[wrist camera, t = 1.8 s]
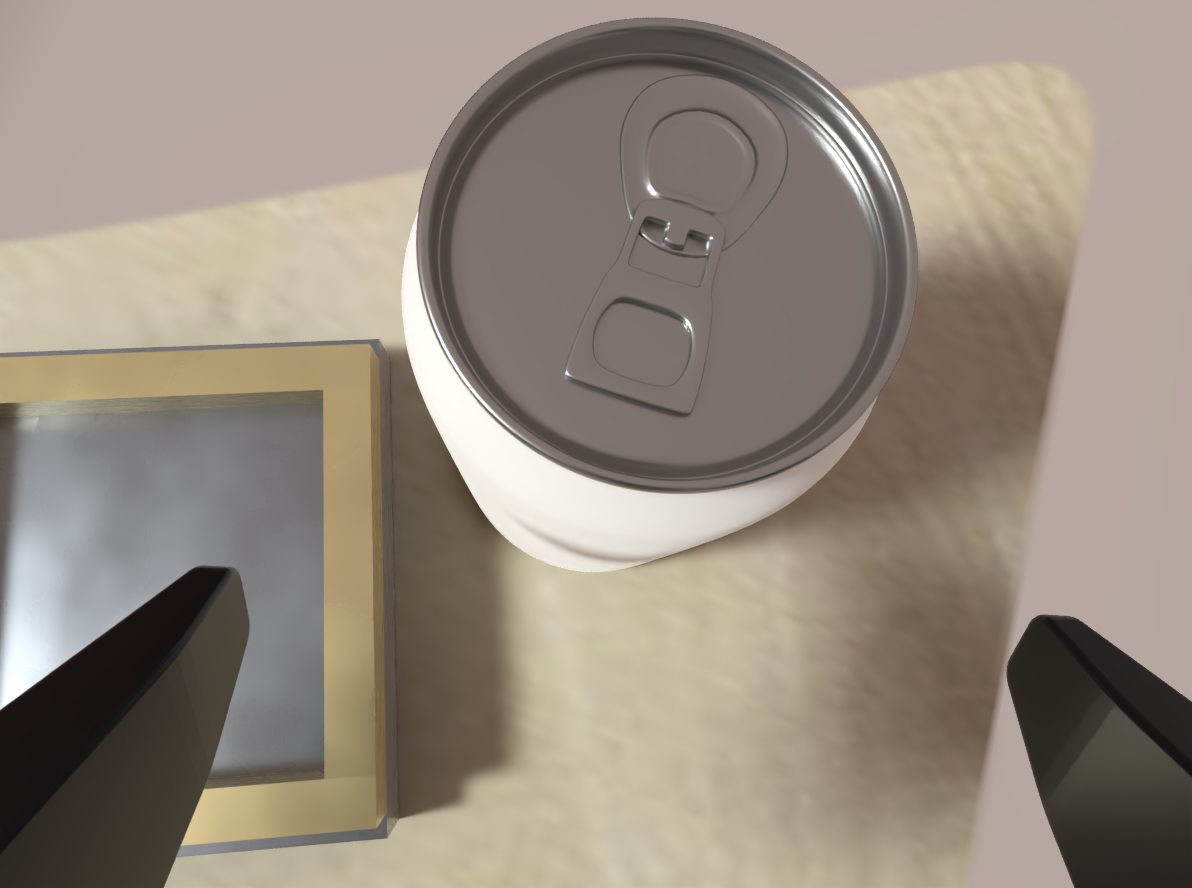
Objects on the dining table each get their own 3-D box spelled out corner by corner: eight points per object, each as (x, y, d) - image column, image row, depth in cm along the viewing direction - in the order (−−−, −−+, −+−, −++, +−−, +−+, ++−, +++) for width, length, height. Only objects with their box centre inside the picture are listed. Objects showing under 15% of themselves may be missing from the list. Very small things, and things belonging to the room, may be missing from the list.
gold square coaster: (398, 819, 19) (376, 855, 16) (-68, 860, 18) (-172, 906, 15) (390, 357, 21) (369, 322, 18) (-30, 374, 20) (-116, 339, 17)
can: (745, 367, 21) (1007, 83, 10) (678, 607, 20) (887, 615, 8) (510, 291, 21) (486, -89, 10) (427, 528, 20) (281, 424, 8)
